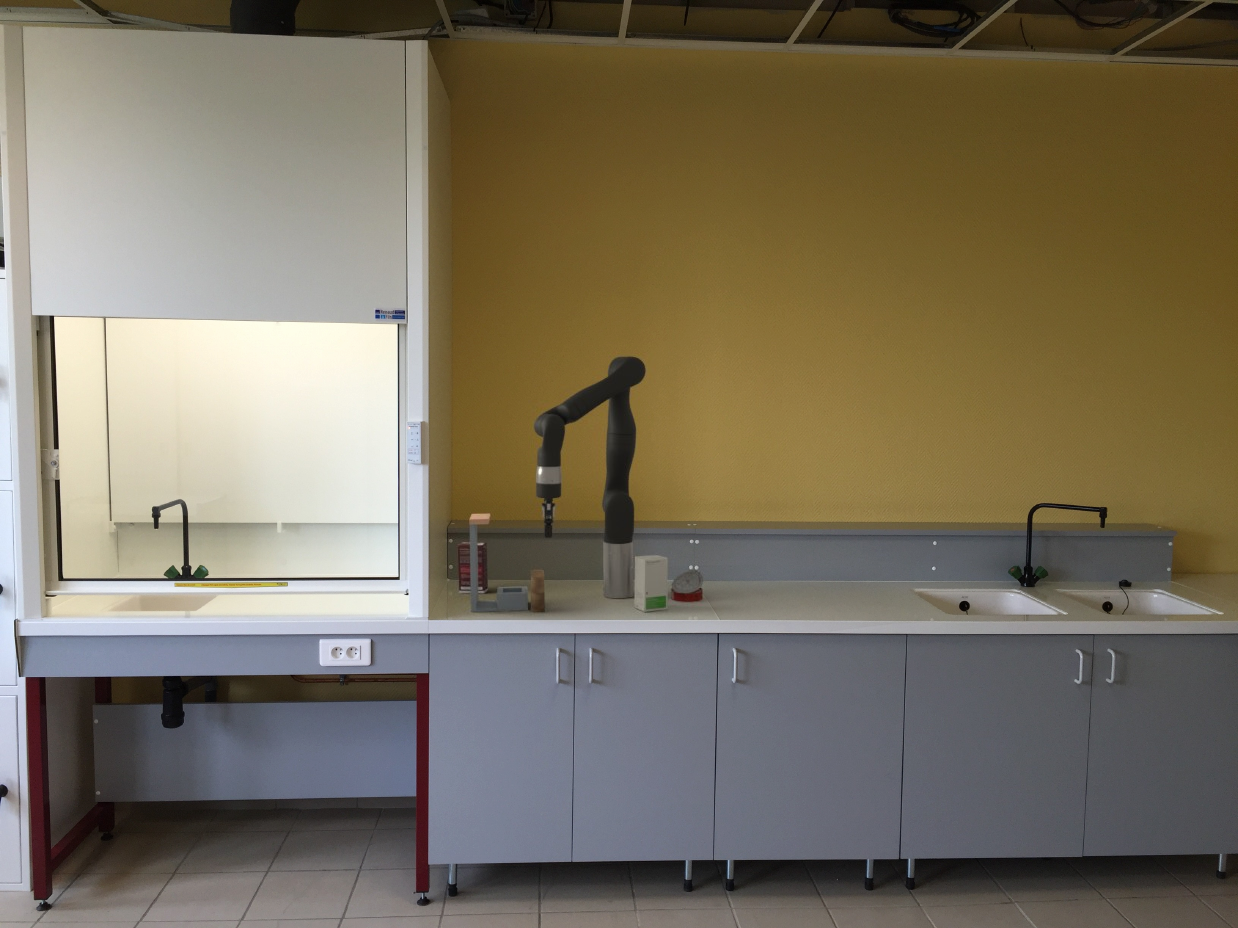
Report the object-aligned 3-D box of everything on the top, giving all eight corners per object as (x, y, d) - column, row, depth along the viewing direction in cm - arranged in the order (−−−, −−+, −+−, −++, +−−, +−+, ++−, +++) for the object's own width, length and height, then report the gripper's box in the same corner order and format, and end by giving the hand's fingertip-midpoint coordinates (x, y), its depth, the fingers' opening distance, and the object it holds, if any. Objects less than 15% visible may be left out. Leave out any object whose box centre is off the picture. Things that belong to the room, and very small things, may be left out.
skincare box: (644, 612, 240) (644, 560, 239) (633, 607, 246) (633, 556, 244) (668, 609, 244) (668, 557, 242) (657, 604, 250) (657, 553, 248)
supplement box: (488, 590, 268) (487, 542, 266) (484, 593, 263) (483, 544, 261) (462, 589, 268) (461, 541, 267) (458, 593, 264) (457, 544, 262)
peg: (544, 608, 244) (544, 569, 243) (544, 612, 240) (544, 572, 239) (531, 609, 244) (530, 569, 243) (531, 612, 240) (530, 572, 239)
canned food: (703, 613, 256) (712, 589, 252) (673, 613, 253) (683, 588, 248) (691, 590, 265) (700, 565, 261) (662, 589, 262) (671, 564, 257)
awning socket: (527, 601, 253) (526, 512, 251) (527, 610, 242) (526, 518, 240) (473, 602, 251) (471, 513, 249) (470, 612, 240) (469, 519, 238)
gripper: (562, 483, 238) (561, 539, 239) (560, 479, 252) (560, 531, 253) (535, 483, 237) (535, 539, 238) (536, 478, 251) (535, 531, 252)
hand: (548, 535), depth 246 cm, fingers open, 8 cm apart
